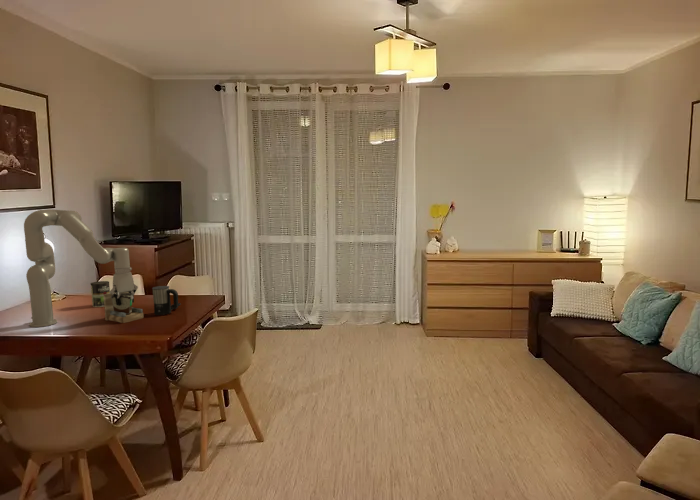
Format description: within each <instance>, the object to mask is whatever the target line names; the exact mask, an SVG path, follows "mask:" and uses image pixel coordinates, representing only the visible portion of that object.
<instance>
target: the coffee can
mask: <svg viewBox="0 0 700 500" xmlns="http://www.w3.org/2000/svg"><path fill="white" fill-rule="evenodd" d="M90 290H91V291H90V292H91V303H92V307H93V308H102V307H103V308H104V296H103V294H108V293H110V291H111V288H110V281H108V280H102V281H101V280H100V281H99V280H98V281H94V282H90Z"/></svg>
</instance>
